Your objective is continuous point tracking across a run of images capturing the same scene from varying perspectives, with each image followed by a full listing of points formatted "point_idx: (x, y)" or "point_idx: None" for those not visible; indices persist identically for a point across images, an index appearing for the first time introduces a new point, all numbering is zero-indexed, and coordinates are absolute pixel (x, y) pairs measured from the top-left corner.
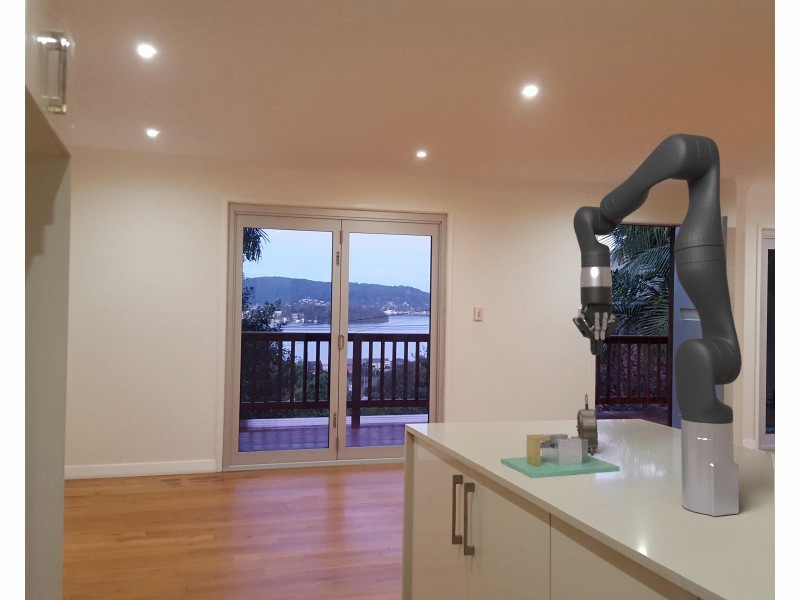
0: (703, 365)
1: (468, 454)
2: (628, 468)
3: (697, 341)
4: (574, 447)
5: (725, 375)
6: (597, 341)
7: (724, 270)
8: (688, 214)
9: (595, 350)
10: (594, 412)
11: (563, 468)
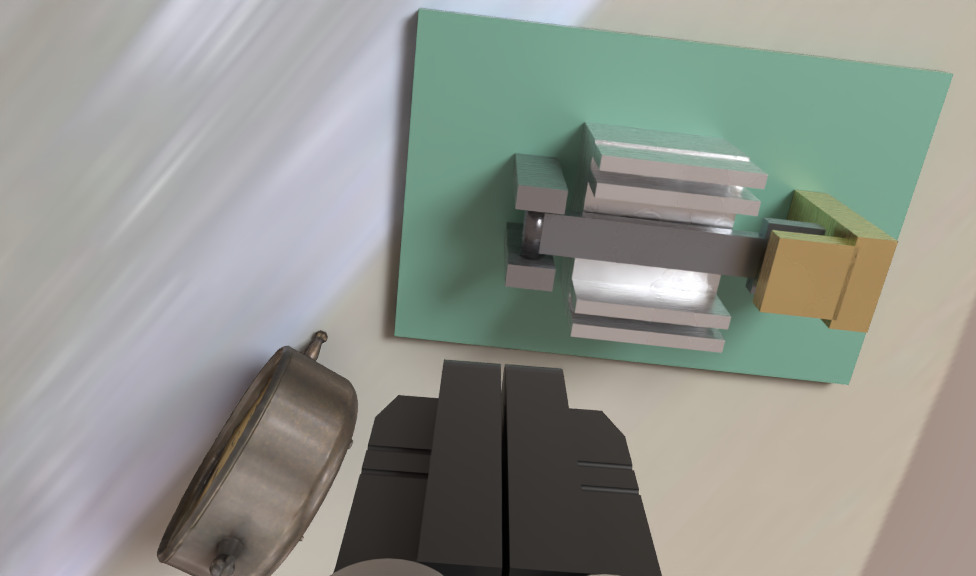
0: None
1: (849, 553)
2: (336, 33)
3: None
4: (645, 149)
5: None
6: (577, 549)
7: None
8: None
9: (581, 439)
10: (222, 479)
11: (727, 100)
